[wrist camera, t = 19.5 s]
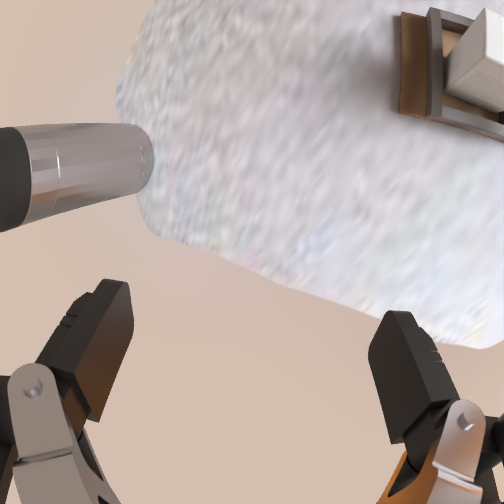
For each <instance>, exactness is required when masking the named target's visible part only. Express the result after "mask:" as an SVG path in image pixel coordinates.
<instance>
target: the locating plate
mask: <svg viewBox="0 0 504 504" xmlns="http://www.w3.org/2000/svg"><path fill="white" fill-rule="evenodd" d="M473 22H474V20H472V19H469V18H466V17H463V16H460V15H457V14H454V13H450V12H447V11H443V10H440V9H436V8H432V7H430V8H429V11H428V13H427V15H426V17H424V16H419V15H415V14H410V13H405V12H401V86H400V104H399V113H402V114H406V115H411V116H416V117H420V118H424V119H429V120H433V121H437V122H441V123H444V124H448V125H452V126H455V127H459V128H462V129H466V130H469V131H472V132H476V133H479V134H482V135H485V136H488V137H491V138H494V139H497V140H500V141H502V142H504V111H502V112H498V113H495V114H493V113H491V112H489V111H487V110H485V109H482V108H480V107H478V106H476V105H473V104H471V103H469V102H466V101H464V100H461V99H459V98H456V97H454V96H451V95H449V94H446V93H443V82H444V74H445V66H446V56H447V55H448V54H449V52H450V51H451V50H452V49H453V47H454V46H455V45H456V44H457V42H458V41H459V40H460V38H461V37H462V36H463V35H464V33H465V32H466V31H467V30H468V28H469V27H470V26H471V24H472V23H473Z"/></svg>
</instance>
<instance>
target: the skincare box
mask: <svg viewBox="0 0 504 504" xmlns="http://www.w3.org/2000/svg"><path fill="white" fill-rule="evenodd" d="M443 93H446V94H449V95H451V96H454V97H456V98H459V99H461V100H464V101H466V102H469V103H471V104H473V105H476V106H478V107H480V108H482V109H485V110H487V111H489V112H491V113H493V114H495V113H498V112H502V111H504V17H503V16H501V15H499V14H497V13H495V12H493V11H491V10H489V9H487V8H484V9H483V10H482V11H481V12H480V14H479V15H478V17H477V18H476V19H475V20H474V22H473V23H472V24H471V26H470V27H469V28H468V30H467V31H466V32H465V33H464V35H463V36H462V37H461V38H460V40H459V41H458V42H457V44H456V45H455V46H454V47H453V49H452V50H451V51H450V52H449V54H448V55H447V56H446V66H445V74H444V82H443Z"/></svg>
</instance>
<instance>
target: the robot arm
mask: <svg viewBox="0 0 504 504" xmlns="http://www.w3.org/2000/svg"><path fill="white" fill-rule="evenodd" d="M152 168H153V149H152V145H151V142H150V140H149V138H148V136H147V135H146V133H145V132H144V131H143V130H142V129H141V128H139V127H138V126H136V125H132V124H113V123H70V124H44V125H31V126H18V127H6V128H0V232H4V231H7V230H10V229H13V228H16V227H19V226H22V225H25V224H28V223H31V222H34V221H37V220H40V219H43V218H46V217H50V216H53V215H56V214H59V213H62V212H66V211H70V210H73V209H77V208H80V207H84V206H87V205H91V204H95V203H98V202H102V201H106V200H110V199H114V198H118V197H122V196H126V195H130V194H134V193H136V192H138V191H139V190H141V189H142V188H143V187H144V185H145V184H146V183H147V181H148V179H149V177H150V175H151V172H152ZM133 330H134V317H133V311H132V305H131V297H130V290H129V285H128V283H127V282H123V281H117V280H110V279H103V280H102V281H101V282H100V283H99V285H98V286H97V288H96V289H95V291H94V292H93V293H89V292H86V293H85V294H84V295H82V296H81V297H79V298H78V299H77V300H75V301H74V302H73V304H72V305H71V307H70V308H69V310H68V311H67V313H66V316H64V317H63V319H62V320H61V322H60V325H59V326H57V328H56V329H55V331H54V333H53V334H52V336H51V337H50V339H49V340H48V342H47V343H46V345H45V347H44V349H43V350H42V352H41V353H40V355H39V357H38V358H37V360H36V361H35V363H30V364H26V365H23V366H21V367H20V368H18V369H17V370H16V371H15V372H14V373H13V374H12V375H11V376H0V504H5V502H6V498H7V494H8V490H9V487H10V483H11V480H12V476H13V475H14V480H15V483H16V487H17V490H18V494H19V497H20V500H21V503H22V504H121V503H120V501H119V500H118V498H117V497H116V495H115V494H114V492H113V490H112V489H111V488H110V486H109V484H108V482H107V480H106V478H105V476H104V474H103V471H102V469H101V467H100V465H99V462H98V460H97V458H96V455H95V453H94V450H93V448H92V445H91V443H90V440H89V438H88V435H87V433H86V430H85V428H84V424H85V422H86V419H88V420H92V421H95V422H99V421H100V418H101V415H102V412H103V410H104V407H105V404H106V401H107V399H108V396H109V394H110V391H111V388H112V386H113V383H114V381H115V378H116V375H117V373H118V370H119V368H120V365H121V363H122V360H123V358H124V356H125V353H126V351H127V348H128V346H129V343H130V341H131V339H132V335H133ZM437 351H438V350H437V348H436V346H435V344H434V342H433V340H432V338H431V337H430V336H429V335H428V334H427V333H426V332H425V331H424V330H423V329H422V328H421V327H419V326H418V324H417V322H416V320H415V318H414V317H413V315H412V313H411V312H408V311H392V310H389V311H387V312H386V313H385V315H384V317H383V319H382V321H381V323H380V325H379V327H378V329H377V331H376V333H375V335H374V338H373V339H372V341H371V343H370V346H369V351H368V360H369V364H370V368H371V371H372V374H373V378H374V381H375V385H376V388H377V392H378V396H379V399H380V403H381V406H382V410H383V414H384V418H385V422H386V426H387V430H388V434H389V438H390V442H391V444H398V443H405V447H406V451H405V452H404V453H403V455H402V457H401V459H400V461H399V463H398V465H397V467H396V469H395V471H394V473H393V475H392V477H391V479H390V481H389V483H388V485H387V487H386V489H385V491H384V492H383V494H382V496H381V498H380V499H379V501H378V502H377V503H376V504H504V502H501V501H500V499H499V496H498V491H497V487H496V483H495V479H494V475H493V471H492V468H493V467H494V466H496V465H497V464H499V463H500V462H501V461H502V463H503V466H504V413H503V414H502V416H500V417H499V418H497V417H490V416H484V414H483V412H482V411H481V409H480V408H479V407H478V406H477V405H476V404H475V403H473V402H471V401H469V400H461V399H460V398H459V395H458V393H457V391H456V388H455V386H454V384H453V382H452V380H451V377H450V375H449V373H448V371H447V369H446V367H445V364H444V363H442V358H441V356H440V354H439V353H437ZM18 457H19V460H18ZM17 460H18V461H17Z"/></svg>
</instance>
